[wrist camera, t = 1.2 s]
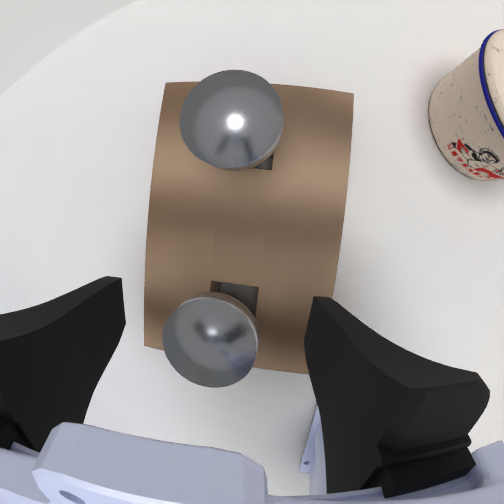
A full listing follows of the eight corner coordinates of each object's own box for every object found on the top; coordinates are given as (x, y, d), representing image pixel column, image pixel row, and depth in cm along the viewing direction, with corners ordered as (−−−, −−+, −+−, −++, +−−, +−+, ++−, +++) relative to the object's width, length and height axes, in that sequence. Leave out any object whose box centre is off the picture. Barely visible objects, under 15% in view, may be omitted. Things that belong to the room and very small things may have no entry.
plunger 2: (260, 353, 19) (251, 394, 14) (189, 341, 19) (162, 376, 14) (270, 282, 18) (262, 308, 13) (193, 272, 18) (163, 292, 14)
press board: (314, 355, 23) (316, 375, 20) (160, 330, 24) (144, 345, 21) (346, 107, 20) (353, 93, 17) (180, 96, 21) (165, 82, 18)
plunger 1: (281, 181, 17) (277, 172, 12) (202, 174, 18) (173, 164, 13) (289, 104, 16) (287, 72, 12) (212, 100, 17) (187, 70, 12)
